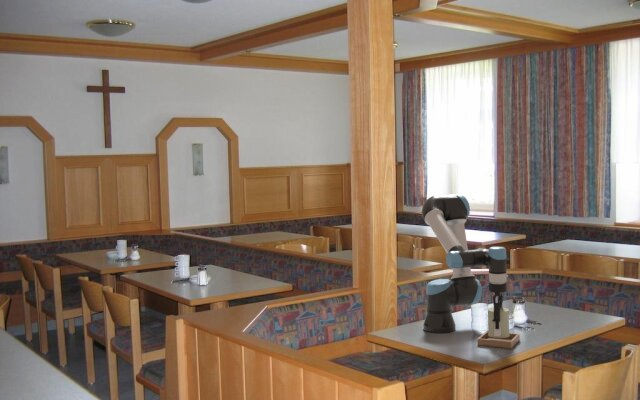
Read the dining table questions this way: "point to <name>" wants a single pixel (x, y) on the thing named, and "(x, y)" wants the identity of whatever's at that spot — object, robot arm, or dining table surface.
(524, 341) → the dining table surface
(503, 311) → the can
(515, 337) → the brown square tray
